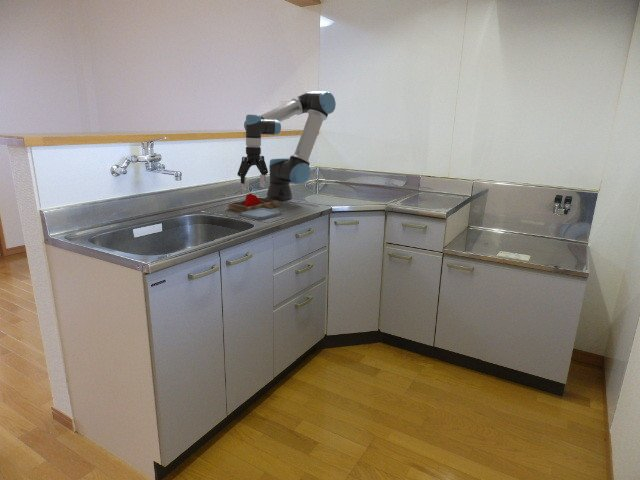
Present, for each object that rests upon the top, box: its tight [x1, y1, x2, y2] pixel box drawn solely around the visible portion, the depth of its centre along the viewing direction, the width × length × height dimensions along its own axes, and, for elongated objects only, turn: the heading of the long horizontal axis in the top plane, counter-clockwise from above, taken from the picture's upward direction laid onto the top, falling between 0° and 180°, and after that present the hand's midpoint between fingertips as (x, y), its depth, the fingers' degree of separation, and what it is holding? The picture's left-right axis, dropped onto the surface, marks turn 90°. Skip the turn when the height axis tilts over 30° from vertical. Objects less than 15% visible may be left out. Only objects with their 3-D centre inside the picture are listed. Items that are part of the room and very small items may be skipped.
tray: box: [239, 208, 282, 221], centre depth 204 cm, size 15×13×2 cm
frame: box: [228, 197, 280, 213], centre depth 219 cm, size 23×14×3 cm, turn 145°
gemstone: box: [244, 193, 261, 207], centre depth 216 cm, size 9×9×10 cm
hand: (253, 188), depth 217 cm, fingers open, 13 cm apart
